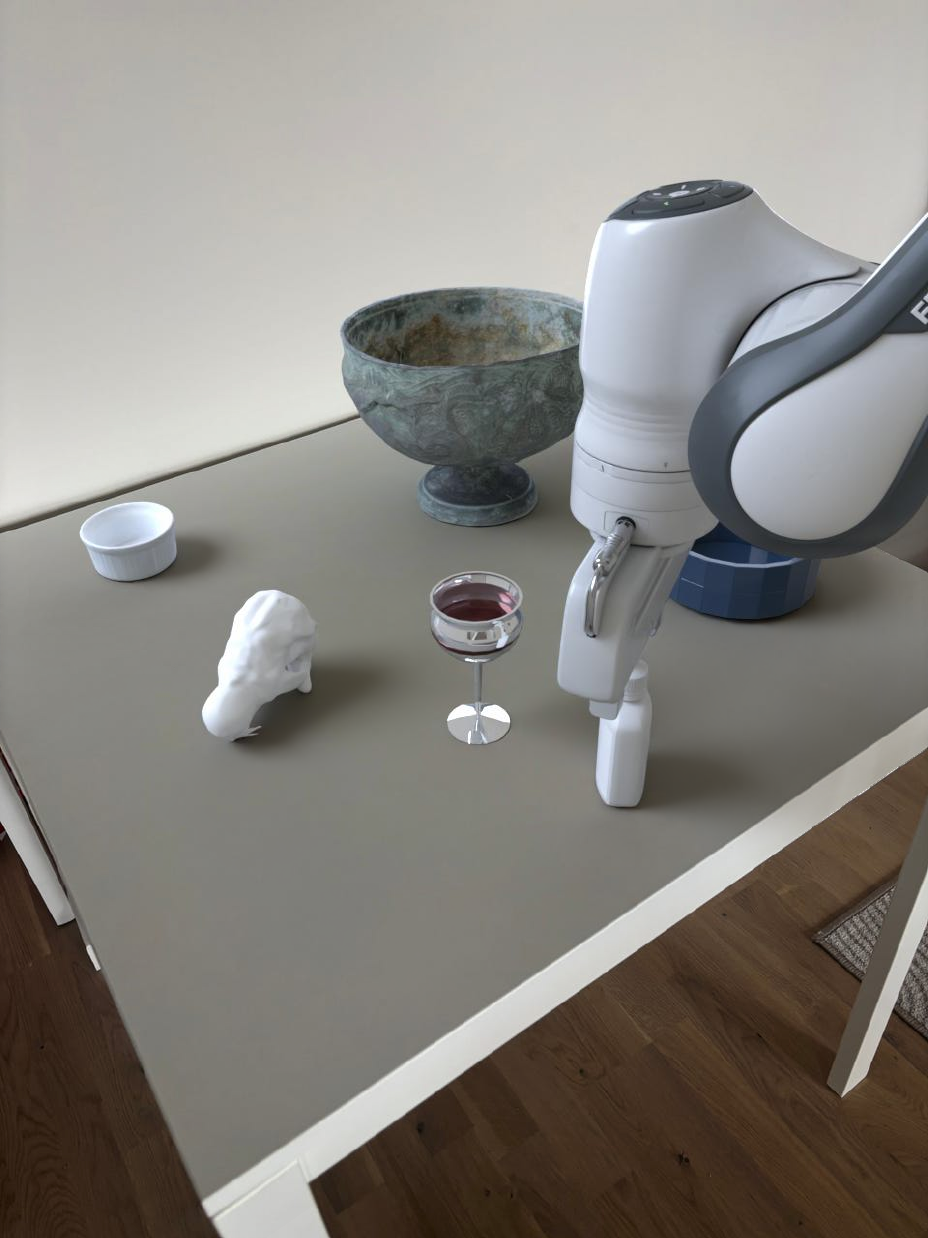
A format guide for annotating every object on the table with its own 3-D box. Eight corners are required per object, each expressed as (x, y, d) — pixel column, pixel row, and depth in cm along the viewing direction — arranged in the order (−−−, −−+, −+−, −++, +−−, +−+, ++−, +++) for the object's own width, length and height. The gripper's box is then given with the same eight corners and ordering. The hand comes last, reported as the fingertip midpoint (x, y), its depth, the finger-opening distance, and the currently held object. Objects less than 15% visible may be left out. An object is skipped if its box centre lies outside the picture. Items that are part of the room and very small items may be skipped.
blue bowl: (824, 553, 95) (836, 499, 92) (801, 640, 84) (814, 582, 80) (671, 524, 100) (677, 472, 97) (630, 602, 89) (635, 546, 86)
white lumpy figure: (317, 587, 76) (234, 690, 68) (333, 666, 82) (258, 769, 74) (248, 572, 78) (160, 670, 70) (269, 649, 84) (189, 748, 76)
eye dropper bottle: (574, 794, 70) (582, 662, 63) (609, 748, 73) (620, 619, 66) (630, 818, 68) (645, 685, 61) (662, 769, 72) (680, 639, 65)
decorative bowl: (418, 584, 91) (413, 377, 80) (313, 481, 110) (296, 302, 99) (640, 519, 102) (662, 330, 91) (510, 436, 121) (516, 270, 110)
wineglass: (538, 730, 75) (542, 603, 68) (465, 764, 72) (461, 635, 65) (490, 684, 80) (489, 560, 73) (419, 714, 77) (411, 589, 70)
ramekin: (187, 574, 95) (178, 536, 92) (92, 593, 92) (81, 554, 90) (176, 531, 101) (168, 494, 99) (88, 548, 99) (77, 511, 96)
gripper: (653, 587, 48) (629, 786, 56) (736, 423, 63) (707, 599, 71) (533, 560, 50) (526, 755, 58) (641, 408, 65) (623, 580, 73)
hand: (626, 668), depth 65 cm, fingers open, 8 cm apart
